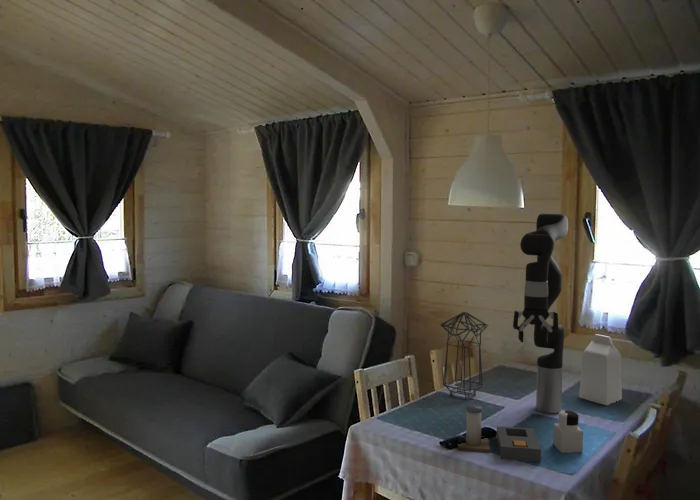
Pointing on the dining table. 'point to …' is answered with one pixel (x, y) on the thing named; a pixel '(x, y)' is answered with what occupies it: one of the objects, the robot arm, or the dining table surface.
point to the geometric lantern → (464, 352)
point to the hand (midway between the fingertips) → (534, 342)
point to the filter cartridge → (473, 424)
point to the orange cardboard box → (519, 443)
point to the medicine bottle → (568, 433)
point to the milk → (601, 372)
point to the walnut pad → (475, 446)
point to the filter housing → (518, 453)
